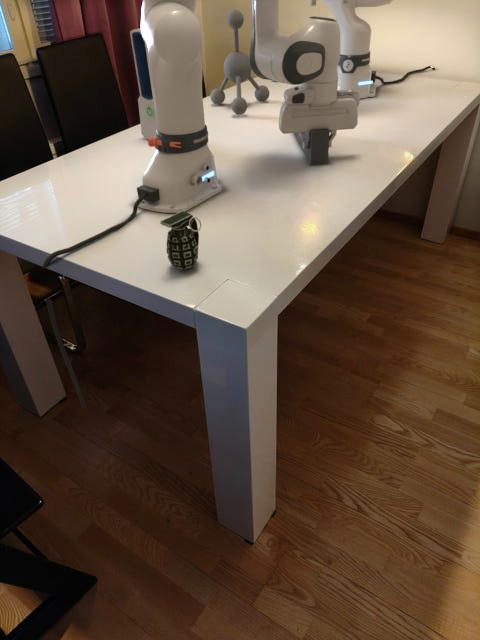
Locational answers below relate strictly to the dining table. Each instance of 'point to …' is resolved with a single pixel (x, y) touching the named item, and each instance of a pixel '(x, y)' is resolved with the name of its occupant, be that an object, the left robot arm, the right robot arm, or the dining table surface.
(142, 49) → the electronic device
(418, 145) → the dining table surface
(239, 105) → the molecular model
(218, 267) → the dining table surface
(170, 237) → the grenade
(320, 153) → the bar
